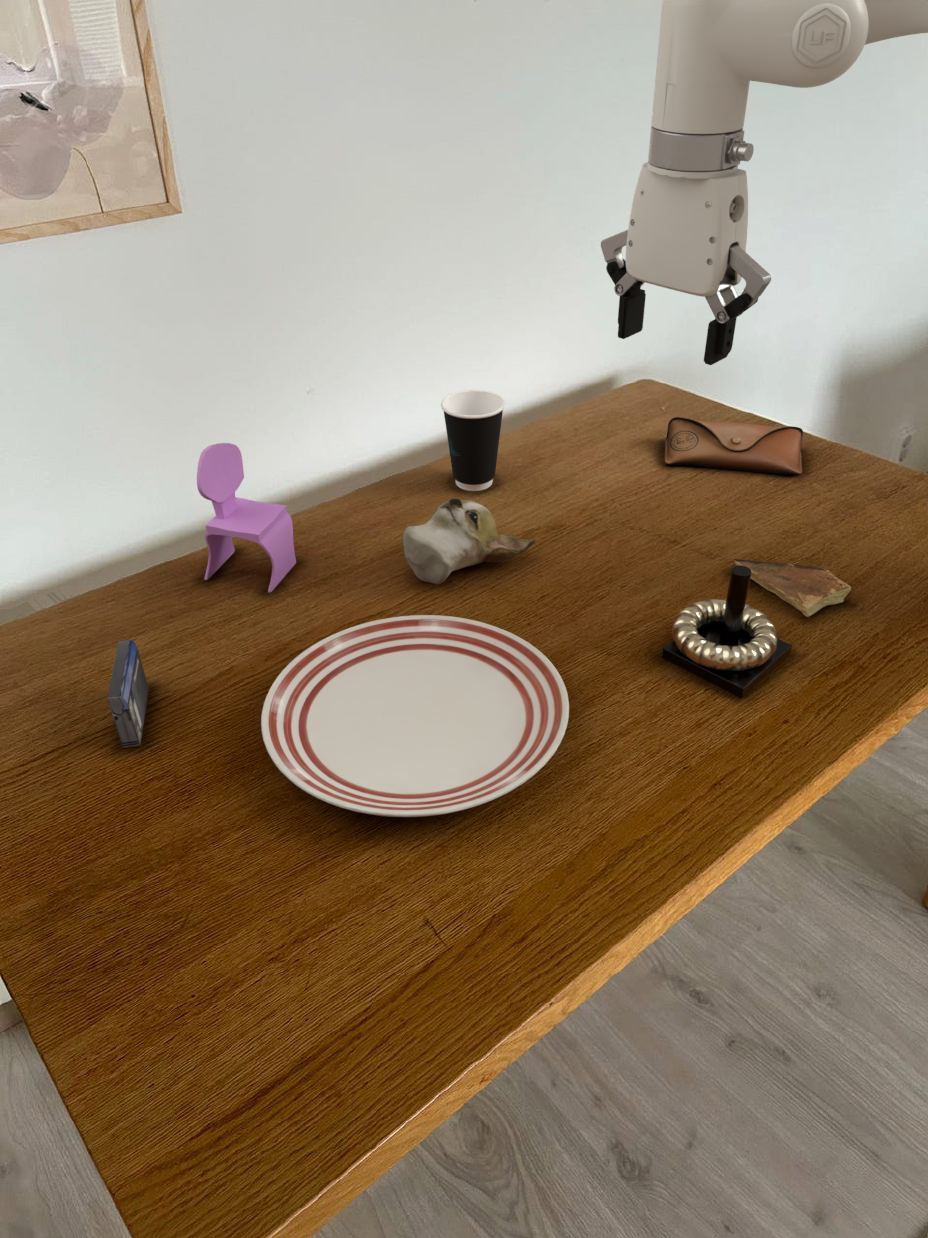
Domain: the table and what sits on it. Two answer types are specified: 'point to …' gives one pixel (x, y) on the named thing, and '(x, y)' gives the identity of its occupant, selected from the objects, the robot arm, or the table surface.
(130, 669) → the mini dv tape
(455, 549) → the ceramic sculpture
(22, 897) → the table surface
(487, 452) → the dixie cup
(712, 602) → the ribbed metal ring
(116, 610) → the table surface
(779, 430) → the sunglasses case
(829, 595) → the shard
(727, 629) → the stand
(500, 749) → the dinner plate
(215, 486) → the toy chair
